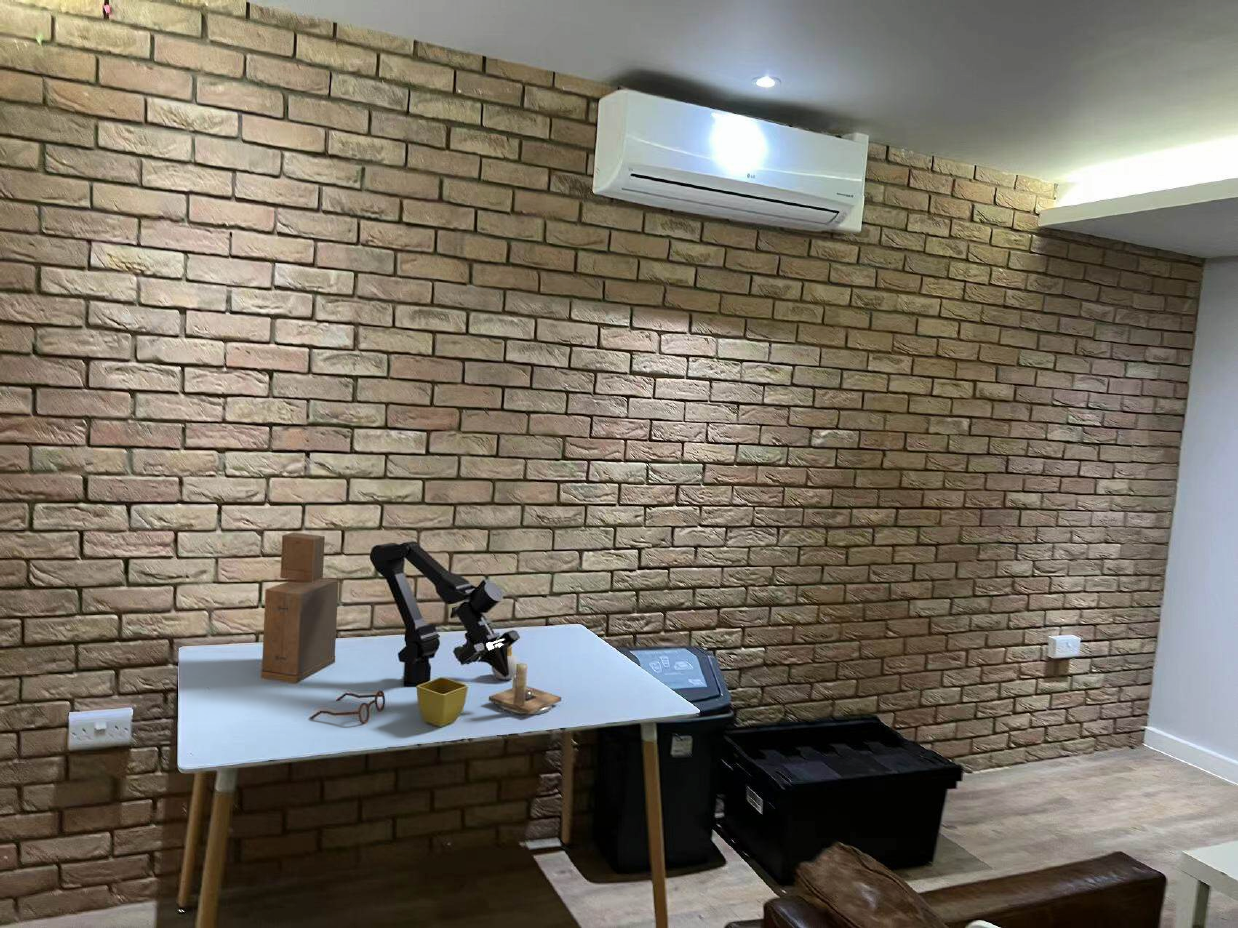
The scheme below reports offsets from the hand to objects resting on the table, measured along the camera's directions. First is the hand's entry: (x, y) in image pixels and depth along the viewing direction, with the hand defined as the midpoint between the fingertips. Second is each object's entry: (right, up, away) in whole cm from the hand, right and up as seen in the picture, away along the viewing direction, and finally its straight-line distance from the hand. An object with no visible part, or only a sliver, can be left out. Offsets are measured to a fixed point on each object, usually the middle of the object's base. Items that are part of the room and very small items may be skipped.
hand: (506, 675), depth 220 cm
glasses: (-37, -7, -9) cm, 38 cm away
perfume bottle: (-5, -7, +24) cm, 25 cm away
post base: (+3, -8, +6) cm, 11 cm away
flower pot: (-14, -9, -11) cm, 20 cm away
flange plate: (+4, -7, +5) cm, 10 cm away
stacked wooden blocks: (-58, -3, +19) cm, 62 cm away
